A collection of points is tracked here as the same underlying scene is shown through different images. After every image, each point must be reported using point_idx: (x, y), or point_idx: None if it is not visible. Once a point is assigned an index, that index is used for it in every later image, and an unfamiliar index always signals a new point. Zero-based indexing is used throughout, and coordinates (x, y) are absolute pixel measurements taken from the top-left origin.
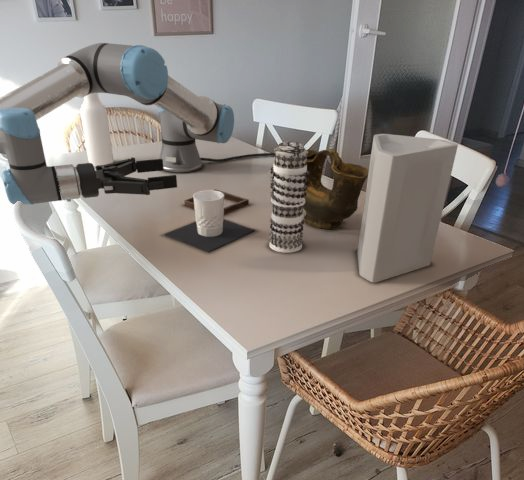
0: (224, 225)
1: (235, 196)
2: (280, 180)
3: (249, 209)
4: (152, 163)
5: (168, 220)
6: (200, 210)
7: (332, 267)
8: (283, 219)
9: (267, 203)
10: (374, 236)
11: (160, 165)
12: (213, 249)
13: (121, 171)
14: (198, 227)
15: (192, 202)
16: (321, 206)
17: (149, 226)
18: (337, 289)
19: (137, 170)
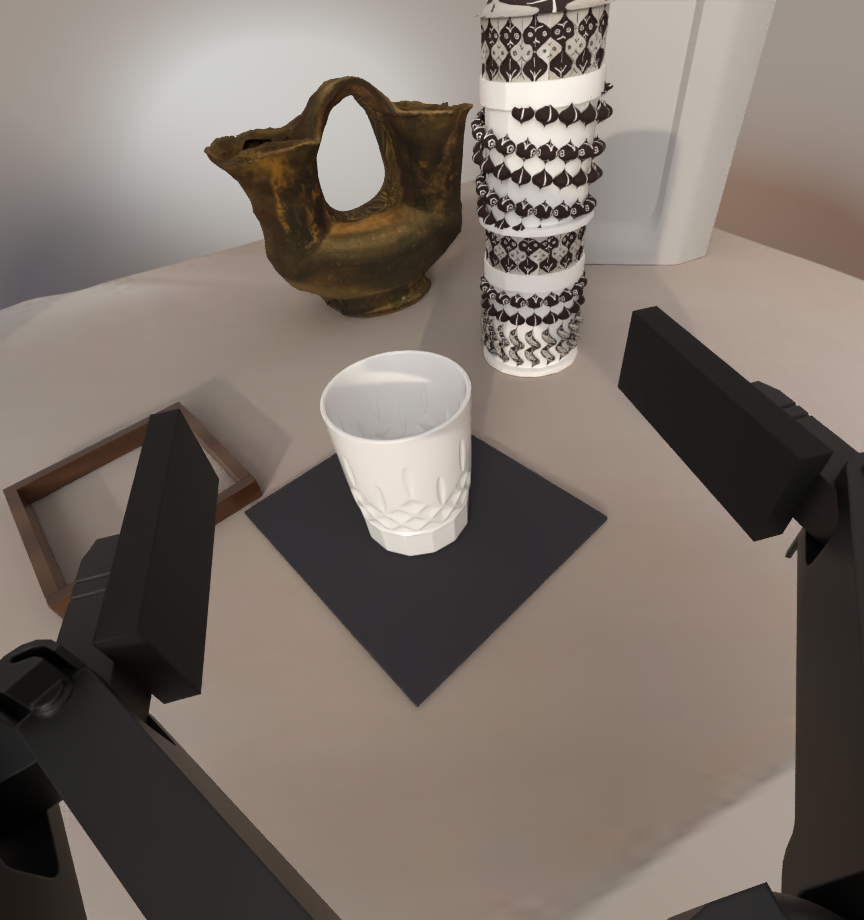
0: None
1: (126, 432)
2: (584, 128)
3: (229, 414)
4: (178, 500)
5: (222, 695)
6: (458, 458)
7: (647, 292)
8: (583, 262)
9: (201, 377)
10: (725, 148)
11: (198, 464)
12: (583, 503)
13: (318, 911)
14: (437, 531)
15: None
16: (423, 238)
17: (273, 811)
18: (763, 289)
19: (175, 687)
